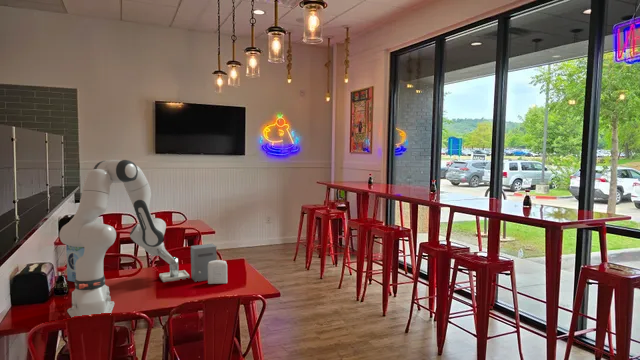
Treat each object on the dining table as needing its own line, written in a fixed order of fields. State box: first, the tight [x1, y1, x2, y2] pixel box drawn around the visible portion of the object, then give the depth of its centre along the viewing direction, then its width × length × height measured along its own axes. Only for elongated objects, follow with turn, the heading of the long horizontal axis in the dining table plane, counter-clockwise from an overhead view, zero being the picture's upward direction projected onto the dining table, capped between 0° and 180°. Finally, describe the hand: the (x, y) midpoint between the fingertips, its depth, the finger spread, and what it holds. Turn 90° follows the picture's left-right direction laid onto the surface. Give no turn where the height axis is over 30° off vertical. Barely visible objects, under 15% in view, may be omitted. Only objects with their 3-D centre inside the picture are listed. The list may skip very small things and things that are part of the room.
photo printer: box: [207, 259, 228, 285], centre depth 230 cm, size 10×4×12 cm, turn 98°
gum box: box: [65, 244, 85, 283], centre depth 233 cm, size 20×5×23 cm, turn 66°
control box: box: [190, 243, 218, 283], centre depth 239 cm, size 9×12×18 cm
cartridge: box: [169, 256, 180, 278], centre depth 241 cm, size 5×5×11 cm
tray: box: [158, 269, 191, 283], centre depth 241 cm, size 12×14×2 cm
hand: (175, 262), depth 241 cm, fingers open, 8 cm apart
